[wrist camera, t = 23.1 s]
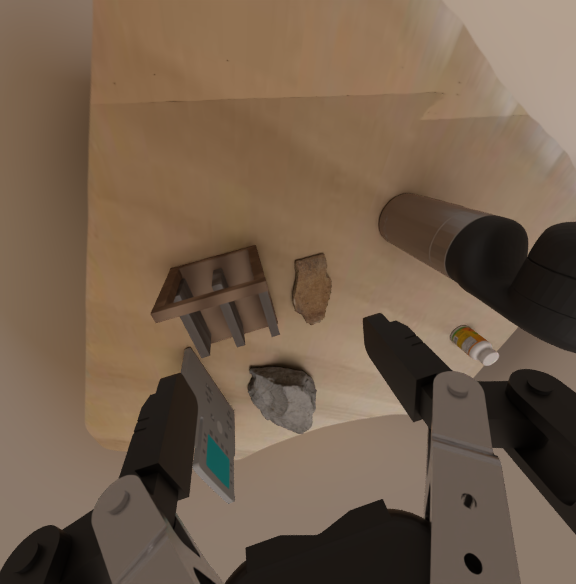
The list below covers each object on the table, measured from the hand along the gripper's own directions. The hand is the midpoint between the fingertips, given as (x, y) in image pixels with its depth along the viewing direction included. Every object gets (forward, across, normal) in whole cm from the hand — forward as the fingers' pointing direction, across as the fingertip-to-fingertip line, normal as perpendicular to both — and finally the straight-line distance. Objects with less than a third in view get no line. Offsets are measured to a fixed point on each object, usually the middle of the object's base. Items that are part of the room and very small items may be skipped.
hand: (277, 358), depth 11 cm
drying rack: (+36, +7, +16) cm, 40 cm away
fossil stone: (+36, +3, +44) cm, 57 cm away
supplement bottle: (+36, -45, +45) cm, 73 cm away
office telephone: (+36, +18, +36) cm, 54 cm away
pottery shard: (+36, -9, +27) cm, 46 cm away
